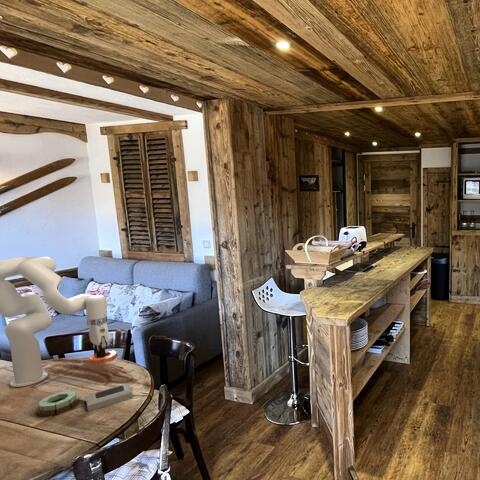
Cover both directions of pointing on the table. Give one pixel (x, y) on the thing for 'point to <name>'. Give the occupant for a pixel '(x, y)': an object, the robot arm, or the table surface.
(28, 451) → the table surface
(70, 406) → the walnut ring
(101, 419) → the table surface
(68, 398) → the green ring
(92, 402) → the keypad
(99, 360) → the terracotta ring
